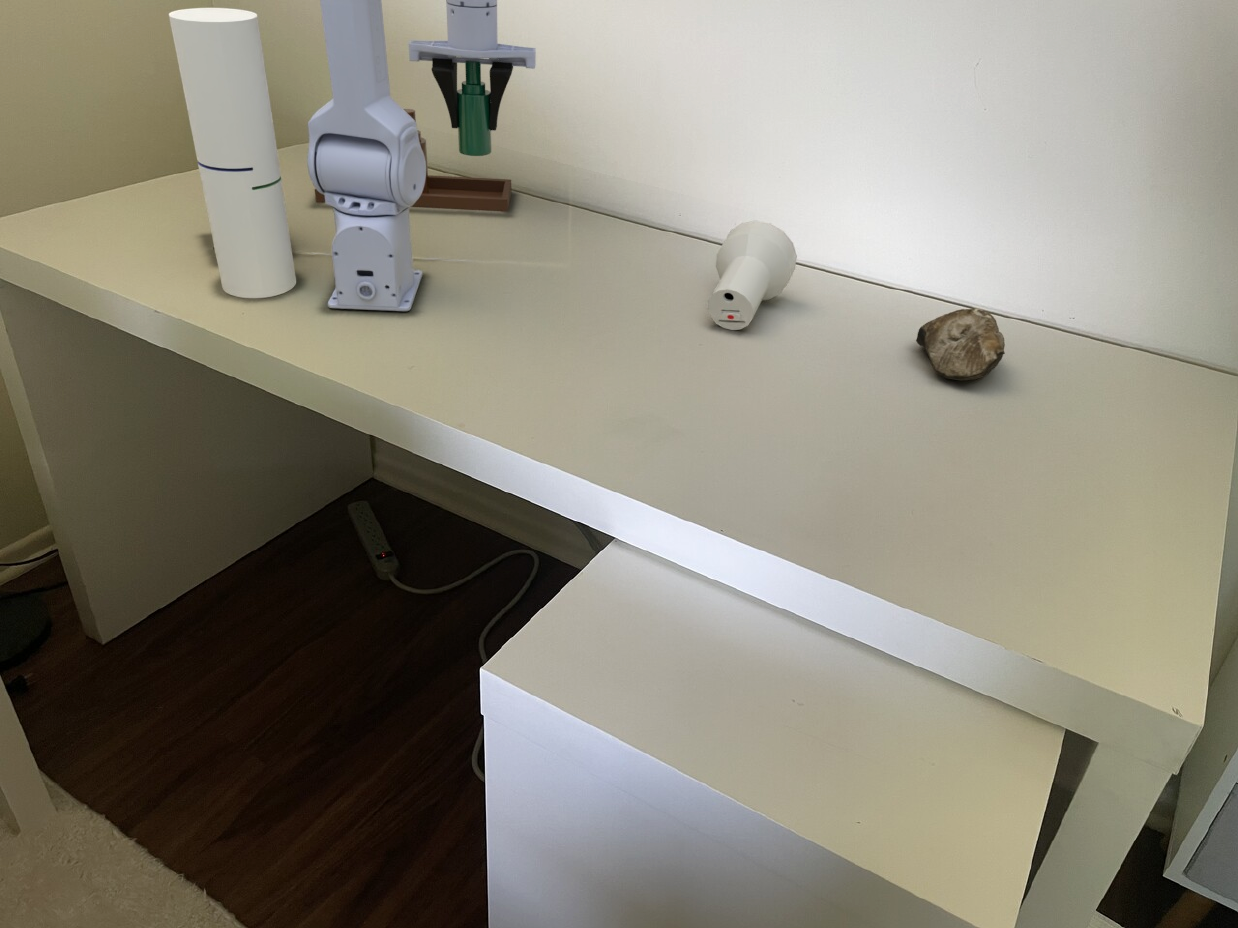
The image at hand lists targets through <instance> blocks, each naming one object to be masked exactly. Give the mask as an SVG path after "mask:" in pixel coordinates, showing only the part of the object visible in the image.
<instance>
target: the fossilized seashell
mask: <svg viewBox="0 0 1238 928" xmlns="http://www.w3.org/2000/svg"><path fill="white" fill-rule="evenodd" d="M999 329H1000V328H999V326H998V322H997V320H996V318H995V317H994V316H993V315H992V314H991V313H990V312H988V311H986V310H984V309H980V308H962V309H961V308H960V309H957V310H954V311H951V312H948V313H946V314H943V315H941V316H938V317H936V318H935V319H932V320H930V321H927V322H926V323H924V324H923V325H921V326H920V327H919V329H918V331H917V336H916V339H915V342H916V343H917V344H918V345H919V346H920V347H922V348H924V349H925V351H926V354H927V357H928V359H929V361H930V363H931V365H932V368H933V369H934V371H935V372H936V373H937V375H939V376H941V377H943V378H944V379H948V380H950V379H951V380H956V381H962V382H963V381H974V380H978V379H980V378H983V377H986V376H987V375H989V373H991V372H992V371H993V370H995V369H996V367H997V366H998V365H999V363H1000V362H1001V361H1002V359H1003V356H1004V355H1005V354H1006V352H1005V346H1006V344H1005V337H1004V335H1003V333H1002V332H1001V331H1000V330H999Z"/></svg>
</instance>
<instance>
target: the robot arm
mask: <svg viewBox="0 0 1238 928" xmlns="http://www.w3.org/2000/svg"><path fill="white" fill-rule="evenodd" d="M445 1H446V3H445V4H446V6H445V7H446V29H447V30H446V32H447V40H414V39H413V40H410V41H409V42H408V55H409V56H408V58H409V62H420V61H425V62H432V63H431V72H432V75H433V77H434V79H435V82H436V83H437V85H438V87H439V89H440V92H441V94H442V97H443V99H444V102H445V104H446V107H447V111H448V115H449V119H450V124H451V125H450V126H451V129H458V113H457V90H458V64H465V63H466V62H465V61H479V62H480V64H481V65H489V66H490V65H491V67H490V69H489V88H490V89H489V91H490V93H491V109H490V130H491V131H497V128H498V117H499V111H500V107H501V103H502V100H503V96H504V95H505V94H504V93H505V91H506V89H507V85H508V83H509V82H510V79H511V76H512V74H513V71H514V67H522V68H526V69H533V70H534V69H536V65H537V64H536V62H537V61H536V60H537V56H536V55H537V48H536V47H530V46H529V47H528V46H519V45H513V44H505V43H504V44H503V43H499V42H498V0H445ZM319 4H320V11H321V19H322V26H323V33H324V41H325V42H324V43H325V49H326V55H327V56H326V57H327V65H328V71H329V79H330V85H331V87H330V88H331V94H332V98H331V99H330V100H329V101H327V103H325V104H324V105H323V106H321V107H320V108H319V109H318V110H316V111H315V112H314V113H313V115H312V116H311V118H310V119H309V121H307V127H308V150H307V157H306V165H307V171H308V175H309V178H310V181H311V183H312V186H313V187H314V188H315V189H316V190H317V191H318V192H320V193H321V194H323V195H325V205H326V206H330V207H332V211H333V218H334V227H335V235H334V237H333V240H332V244H331V258H332V267H333V275H334V283H335V288H334V290H333V292H332V294H331V295H330V298H329V299H328V302H327V307H328V308H329V309H341V310H365V311H366V310H368V311H389V312H408V311H410V310H411V309H412V306H413V303H414V301H415V297H416V294H417V291H418V289H419V287H420V283H421V281H422V277H423V271H422V270H420V269H414V265H413V264H414V263H413V262H414V261H413V248H412V233H411V232H412V231H411V219H410V208H412V207H411V206H412V205H413V204H414V203H415V202H416V201H417V200H418V199H419V197H420V196H421V194H422V191H423V189H424V185H425V179H426V162H425V156H424V153H423V151H422V149H421V146H420V142H419V137H418V130H419V129H418V127H417V124H418V123H417V121H416V122H415V120H414V119H413V118H412V117H411V116H410V115H409V114H408V113H407V112H406V111H404V110H403V109H404V108H402V106H401V105H399V104H398V103H397V102H396V101H395V100H394V98H392V96H391V88H390V87H391V86H390V78H389V67H388V57H387V56H388V55H387V46H386V37H385V36H386V35H385V26H384V25H385V24H384V14H383V4H382V0H319Z"/></svg>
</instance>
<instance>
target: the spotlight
mask: <svg viewBox="0 0 1238 928" xmlns="http://www.w3.org/2000/svg"><path fill="white" fill-rule="evenodd" d="M797 258H798V254H797V252H796V248H795V245H794V242H793V241H792V240H791V238H790V237H789V236H788V234H787V233H786V231H784V230H782V229H781V228H780V227H778V226H776V225H775V224H773V223H771V222H766V221H761V220H750V221H745V222H741V223H740V224H738V225H736V226H735V227H734V228H732V229H730V231H729V233H728V234H727V235H726V238H725V239H724V241H723V242H722V245H721V246H720V247H719V250H718V251H717V253H716V259H715V269H716V272H717V275H718V278H719V281H718V282H717V284H716V286H715V288H714V290H713V291H712V293H711V295H710V297H708V300H707V306H706V309H707V312H708V315H709V317H710V319H712V320H713V322H714V323H715V324H716V325H717V326H720V327H721V328H723V329H726V330H731V331H737V330H742V329H744V328H746V327H748V326H749V325H750V323H751V322H752V320H753V319H754V317H755V315H756V313H757V311H758V309H759V307H760V305H761V303H762V301H769V300H772V299H774V298H776V297H777V296H778V295H780V294H782V293H783V291H784V290H785V288H787V286H788V284H789V283H790V280H791V279H792V277H793V274H794V272H795V270H796V266H797V265H796V264H797V260H798V259H797Z"/></svg>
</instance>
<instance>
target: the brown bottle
mask: <svg viewBox="0 0 1238 928" xmlns="http://www.w3.org/2000/svg"><path fill="white" fill-rule="evenodd" d="M402 109H403V110H404V111H406V112H407V113H408V114H409V115H410V116H411V117H412V118H413V119H414V120H415V122H416V123H417V118H416V117H417V113H416V110H415V109H412V108H402ZM417 130H418V137H419V142H420V146H421V149H422V151H423V153H424V156H425V162H426V179H425V185H424V189H423V191H422V193H426V194H429V183H428V175H429V169H428V148H427V139H425V138H424V137H422V133H421V131H420V130H419V129H417Z"/></svg>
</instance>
